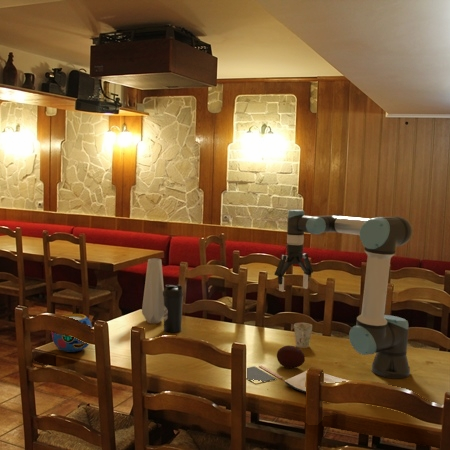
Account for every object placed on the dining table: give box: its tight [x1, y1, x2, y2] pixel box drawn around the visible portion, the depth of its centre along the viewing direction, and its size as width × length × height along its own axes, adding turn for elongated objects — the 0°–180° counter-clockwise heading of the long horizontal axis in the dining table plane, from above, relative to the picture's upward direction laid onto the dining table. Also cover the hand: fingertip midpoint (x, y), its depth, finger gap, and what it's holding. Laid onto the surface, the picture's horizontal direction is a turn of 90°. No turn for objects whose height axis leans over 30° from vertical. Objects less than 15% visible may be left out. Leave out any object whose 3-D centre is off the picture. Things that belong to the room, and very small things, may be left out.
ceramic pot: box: [51, 313, 93, 353], centre depth 248 cm, size 18×18×15 cm
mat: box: [246, 366, 277, 383], centre depth 225 cm, size 15×10×1 cm, turn 31°
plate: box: [284, 370, 348, 394], centre depth 216 cm, size 20×20×3 cm
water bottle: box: [163, 283, 185, 334], centre depth 281 cm, size 10×10×23 cm
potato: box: [276, 345, 306, 369], centre depth 235 cm, size 9×12×9 cm
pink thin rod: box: [258, 365, 284, 380], centre depth 229 cm, size 15×1×1 cm, turn 31°
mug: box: [293, 322, 313, 349], centre depth 261 cm, size 8×13×10 cm, turn 174°
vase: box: [141, 257, 165, 324], centre depth 295 cm, size 12×12×33 cm
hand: (293, 289), depth 260 cm, fingers open, 13 cm apart
